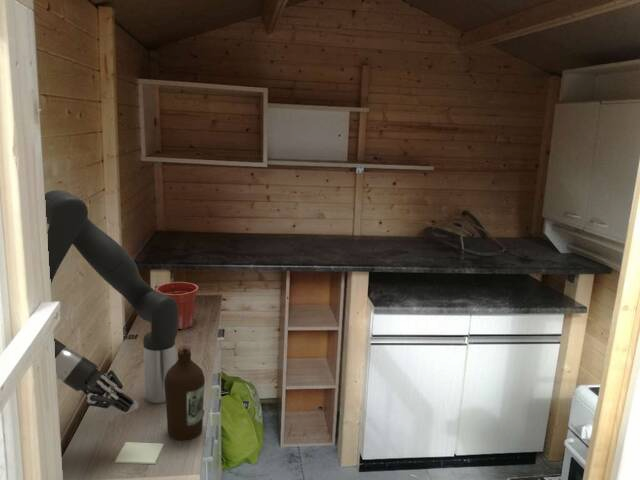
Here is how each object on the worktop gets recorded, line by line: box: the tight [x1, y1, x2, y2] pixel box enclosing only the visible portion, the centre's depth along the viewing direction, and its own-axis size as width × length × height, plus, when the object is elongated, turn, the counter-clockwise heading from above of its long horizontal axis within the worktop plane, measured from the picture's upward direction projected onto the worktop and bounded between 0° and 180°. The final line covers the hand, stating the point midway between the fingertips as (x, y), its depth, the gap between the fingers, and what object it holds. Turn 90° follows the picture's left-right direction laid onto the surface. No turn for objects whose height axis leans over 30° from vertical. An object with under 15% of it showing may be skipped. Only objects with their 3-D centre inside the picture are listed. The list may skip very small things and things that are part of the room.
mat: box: [114, 441, 165, 465], centre depth 139 cm, size 8×10×1 cm
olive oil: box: [164, 344, 206, 441], centre depth 147 cm, size 11×11×25 cm
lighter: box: [97, 400, 140, 422], centre depth 137 cm, size 7×2×8 cm
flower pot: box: [155, 281, 199, 330], centre depth 220 cm, size 16×16×16 cm
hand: (130, 406), depth 137 cm, fingers closed on lighter, 1 cm apart
